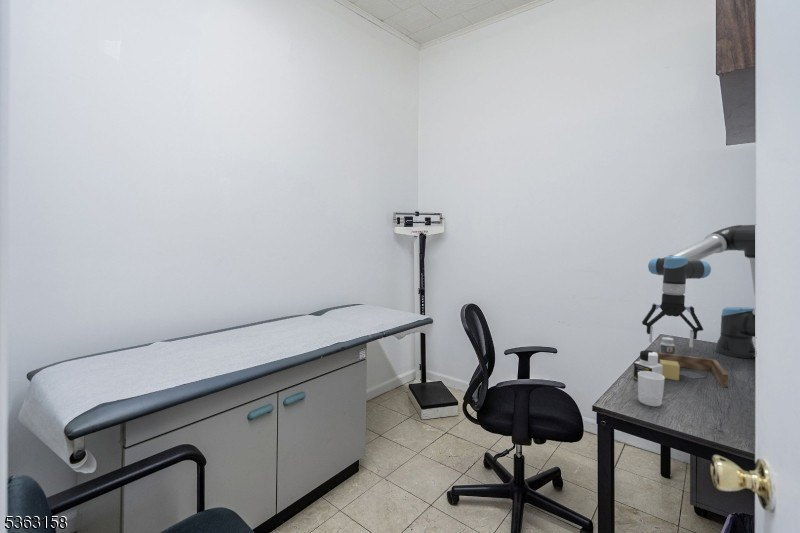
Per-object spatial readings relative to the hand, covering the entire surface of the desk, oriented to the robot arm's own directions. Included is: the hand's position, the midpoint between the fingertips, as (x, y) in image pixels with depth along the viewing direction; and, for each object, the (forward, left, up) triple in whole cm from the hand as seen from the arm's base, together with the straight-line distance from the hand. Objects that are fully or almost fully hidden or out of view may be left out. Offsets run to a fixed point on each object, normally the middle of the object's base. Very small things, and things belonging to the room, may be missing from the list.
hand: (670, 344), depth 151 cm
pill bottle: (-2, -26, -14) cm, 30 cm away
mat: (-8, -6, -14) cm, 17 cm away
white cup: (+9, +32, -14) cm, 36 cm away
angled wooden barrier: (-7, -7, -14) cm, 17 cm away
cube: (0, 0, -14) cm, 14 cm away
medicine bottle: (+8, +9, -14) cm, 18 cm away
